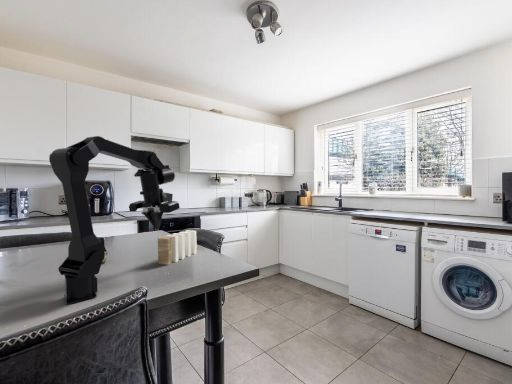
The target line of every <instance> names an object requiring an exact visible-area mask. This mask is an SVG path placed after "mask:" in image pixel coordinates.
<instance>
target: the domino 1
mask: <svg viewBox="0 0 512 384" xmlns="http://www.w3.org/2000/svg"><path fill="white" fill-rule="evenodd" d="M157 261H158V262H157V263H158V264H159V265H166V266H170V265H172V263H173V262H172V256H171V238H168V237H165V236H159V237H157Z"/></svg>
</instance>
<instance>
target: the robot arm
mask: <svg viewBox="0 0 512 384" xmlns="http://www.w3.org/2000/svg"><path fill="white" fill-rule="evenodd" d="M98 154H101V155H104V156H105V155H106V156H109V157H111V158H116V159H119V160H122V161H126V162H128V163H129V164H130V165H131V166H133V167H135V168H137V172H135V173H134V175H133V176H134V177H135V178H138V177H139V178H140V185H141V191H140V192H139V194H140V195H141V196H143V200H138V201H133V202H130V204H129V205H128V209H129V210H128V211H129V212H137V210H138V209H142V211H141V215H143V216H144V217H146V219H147V220H148V221H149V222H150V223H151V225H152V226H153V227H154V229H155V230H159V229H160V227H161V223H162V218H163V216H164V214H168V213H172V212H174V211H177V210H179V209H180V203H179V202H178V201H176V200H173V195H174V194H173V193H170V192H164V190H163V188H160V185H164V184H168V183H172V182H173V181H175V177H176V175H175V173H174V171H173V169H172V168H170V165H169V164H163V162H162V161H161V160H160V158H159V157H158V156H157V153H156V152H155V151H152V150H142V149H134V148H131V147H129V146H126V145H124V144H120V143H117V142H114V141H111V140H109V139H105V138H104V137H102V136H100V135H97V136H88V137H86V138H85V139H83V140H80V141H79V142H76V143H74V144H71V145H69V146H67V147H65V148H57V149H55V150H53V151H52V152H51V153H50V154H49V157H48V159H49V163H50V165H51V168H52V171H53V174H54V175H55V176H56V178H57V179H58V180H59V182H61V184H62V189H63V193H64V200H65V205H66V209H67V211H66V212H67V216H68V222H69V226H70V232H71V239H70V241H69V245H68V248H67V251H68V252H67V253H68V256H67V257H66V258H65V259H64V261H63V262H62V263H61V264H60V265H59V266H58V268H57V270H58V272H59V274H60V275H61V276H64V295H63V298H64V301H65V303H66V305H70V304H71V305H72V304H75V303H78V302H79V303H80V302H82V301H86V300H89V299H90V300H91V299H93V298H96V297H97V296H98V295H97V293H98V292H99V291H98V277H97V276H96V275H98V274H99V273H100V269H101V266H102V264H103V263H102V261H103V260H104V258H105V252H106V251H108V250H107V249H106V246H105V245H106V244H105V238H104V237H101V236H100V237H99V236H97V235H96V234H95V232H94V228H93V221H92V215H91V210H90V205H89V199H88V193H87V188H86V187H87V186H86V179H87V176H88V175H89V171H90V161H92V160H94V159H95V158H96V157H97V156H98Z"/></svg>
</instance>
